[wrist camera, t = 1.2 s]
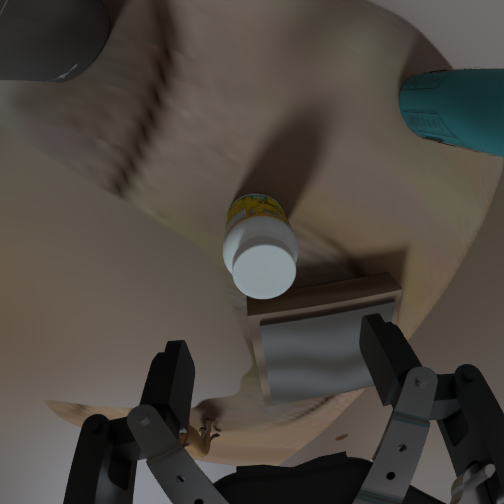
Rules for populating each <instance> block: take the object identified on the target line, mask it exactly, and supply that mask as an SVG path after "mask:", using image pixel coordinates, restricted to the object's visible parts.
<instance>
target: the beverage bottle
mask: <svg viewBox="0 0 504 504" xmlns="http://www.w3.org/2000/svg"><path fill="white" fill-rule="evenodd" d="M440 71H444V72H438V71H432V72H437V73H431V72H429V74H426V72H425V74H423V75H416V76H413V75H412V76H413V77H412V76H411V78H410V79H409V80H408V81H407V82H405V84H404V85H403V87H402V89H401V91H400V95H399V107H400V112H401V115H402V117H403V119H404V121H405V123H406V125H407V126H408V127H409V128H410V129H411V130H412V131H413V132H414V133H416V134H417V135H419V136H420V137H423V138H425V140H426V139H429V140H434V141H433V142H437V141H439V142H438V143H440V142H444V143H442V144H445V143H449V144H451V145H450V146H453V145H452V144H454V145H458V146H462V147H461V148H462V149H463V147H464V149H465V147H466V148H467V150H468V148H470V149H471V150H472V149H474V150H475V151H476V152H478V151H481V152H485V153H489V154H493V155H497V156H500V157H504V69H463V70H453V71H451V70H450V71H446V70H440ZM419 136H418V137H419ZM449 144H446V145H449ZM471 150H470V151H471ZM477 150H478V151H477ZM475 151H473V152H475ZM479 153H480V152H479ZM484 155H485V154H484ZM489 156H491V155H489Z"/></svg>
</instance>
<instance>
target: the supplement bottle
mask: <svg viewBox="0 0 504 504" xmlns="http://www.w3.org/2000/svg"><path fill="white" fill-rule="evenodd" d="M223 257H224V261H225V264H226V266H227V268H228V270H229V271H230V273H231V274H232V275H233V279H234V282H235V284H236V286H237V287H238V288H239V290H240V291H242V292H243V293H244V294H246V295H247V296H250V297H252V298H257V299H269V298H273V297H276V296H279V295H281V294H282V293H284V292H285V291H286V290H287V289H288V288H289V287H290V286H291V285H292V283H293V281H294V279H295V276H296V261H297V258H298V243H297V239H296V237H295V234H294V232H293V230H292V228H291V226H290V224H289V222H288V220H287V217H286V215H285V213H284V211H283V209H282V207H281V206H280V204H279V203H278V202H277V201H276V200H275V199H273V198H272V197H270V196H267V195H264V194H247V195H244V196H242V197H240V198H239V199H237V200H236V201H235V202H234V203H233V204H232V205H231V207H230V209H229V211H228V213H227V216H226V223H225V234H224V243H223Z"/></svg>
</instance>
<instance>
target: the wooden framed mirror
mask: <svg viewBox="0 0 504 504" xmlns="http://www.w3.org/2000/svg"><path fill="white" fill-rule="evenodd" d="M402 290H403V289H402V288H401V286H400V285H399V284H398V283H397V282H396V280H395V279H394V278H393V277H392V275H391V274H390V273H389V272H388V273H383V274H378V275H372V276H367V277H361V278H355V279H350V280H344V281H338V282H332V283H326V284H320V285H313V286H307V287H301V288H294V289H287V290H286V291H285V292H284V293H282V294H281V295H279V296H276V297H273V298H269V299H257V298H252V297H250V296H247V314H248V321H249V326H250V331H251V337H252V342H253V347H254V352H255V357H256V362H257V368H258V373H259V378H260V383H261V388H262V393H263V398H264V403H265V406H273V405H280V404H287V403H294V402H300V401H306V400H312V399H317V398H322V397H327V396H332V395H337V394H341V393H346V392H350V391H354V390H358V389H362V388H366V387H370V386H373V385H374V382H373V380H372V377H371V375H370V373H369V370H368V368H367V366H366V363H365V361H364V359H363V356H362V354H361V351H360V347H359V337H360V329H361V321H362V317H363V316H365V315H370V314H374V313H379V314H380V315H381V316H382V318H383V320H384V321H385V322H389V321H391V322H392V323H393V324H395V325H396V322H397V317H398V312H399V307H400V302H401V296H402Z"/></svg>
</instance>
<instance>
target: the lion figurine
mask: <svg viewBox="0 0 504 504" xmlns="http://www.w3.org/2000/svg"><path fill="white" fill-rule="evenodd" d="M205 423H206V425H207V429H206V431H205V430H204V429H199V432H200V433H201V436H200V435H199V433H198V431H197V430H196V429H195V428H194V427H192V426H191V425H190V423H188V432H187V433H179V439H178V440H179V442H180V443H181V445H182V446H183V447H187V448H188V449H189V450H190V451H191V453H192V454H193V455H194V456H197V457H201V458H202V457H204V456H206V455H207V454H208V452H209V449H210V442H211V440H212V439H213V438H215V437H218V436H220V435H219V434H217V433H216V434H213V435H212V436H211V437H210V432H211V424H212V421H211V420H210V419H207V420H205Z"/></svg>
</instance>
